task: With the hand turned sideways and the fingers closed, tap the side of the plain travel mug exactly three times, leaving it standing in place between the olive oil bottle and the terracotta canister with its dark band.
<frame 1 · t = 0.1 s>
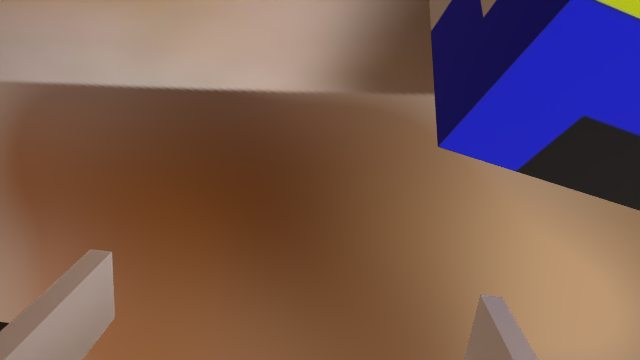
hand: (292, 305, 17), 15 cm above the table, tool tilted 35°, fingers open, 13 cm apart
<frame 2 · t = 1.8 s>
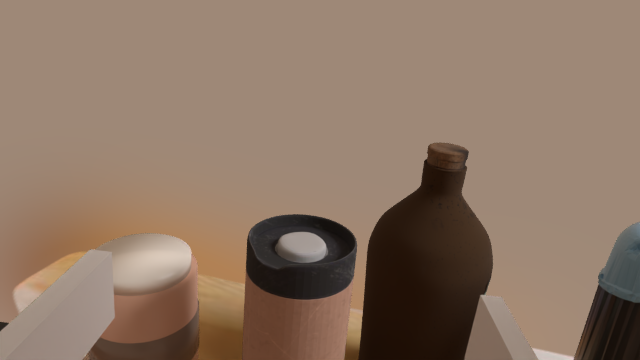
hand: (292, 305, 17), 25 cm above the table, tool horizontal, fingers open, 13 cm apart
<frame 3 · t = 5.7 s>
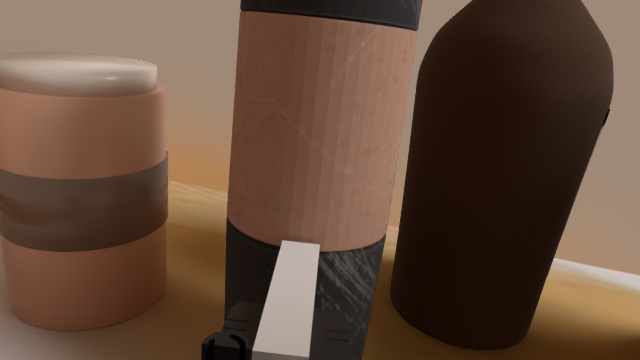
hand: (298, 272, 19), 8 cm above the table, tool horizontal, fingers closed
olive oil: (457, 308, 32), on the table
terracotta canister: (93, 286, 30), on the table
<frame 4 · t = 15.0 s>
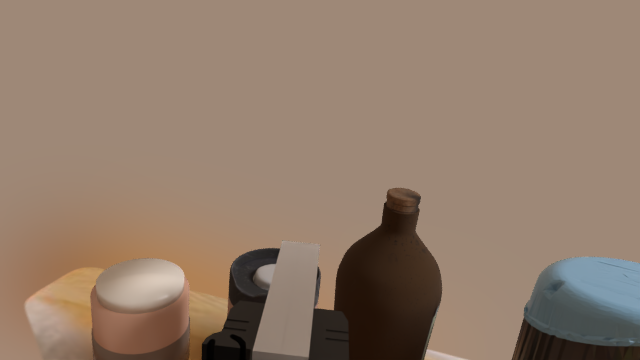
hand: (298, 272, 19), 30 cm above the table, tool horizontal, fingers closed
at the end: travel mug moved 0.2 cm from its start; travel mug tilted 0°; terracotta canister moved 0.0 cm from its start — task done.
